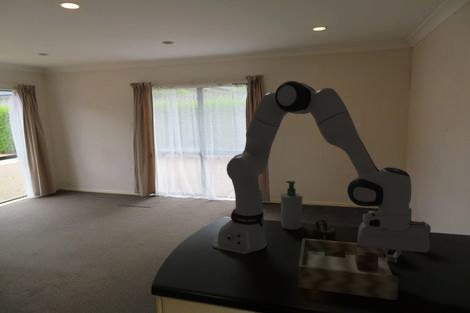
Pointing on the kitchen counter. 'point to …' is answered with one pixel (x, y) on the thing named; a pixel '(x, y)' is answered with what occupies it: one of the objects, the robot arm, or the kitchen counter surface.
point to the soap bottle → (291, 208)
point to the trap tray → (343, 270)
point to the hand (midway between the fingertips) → (391, 261)
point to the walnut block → (366, 259)
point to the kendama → (323, 231)
